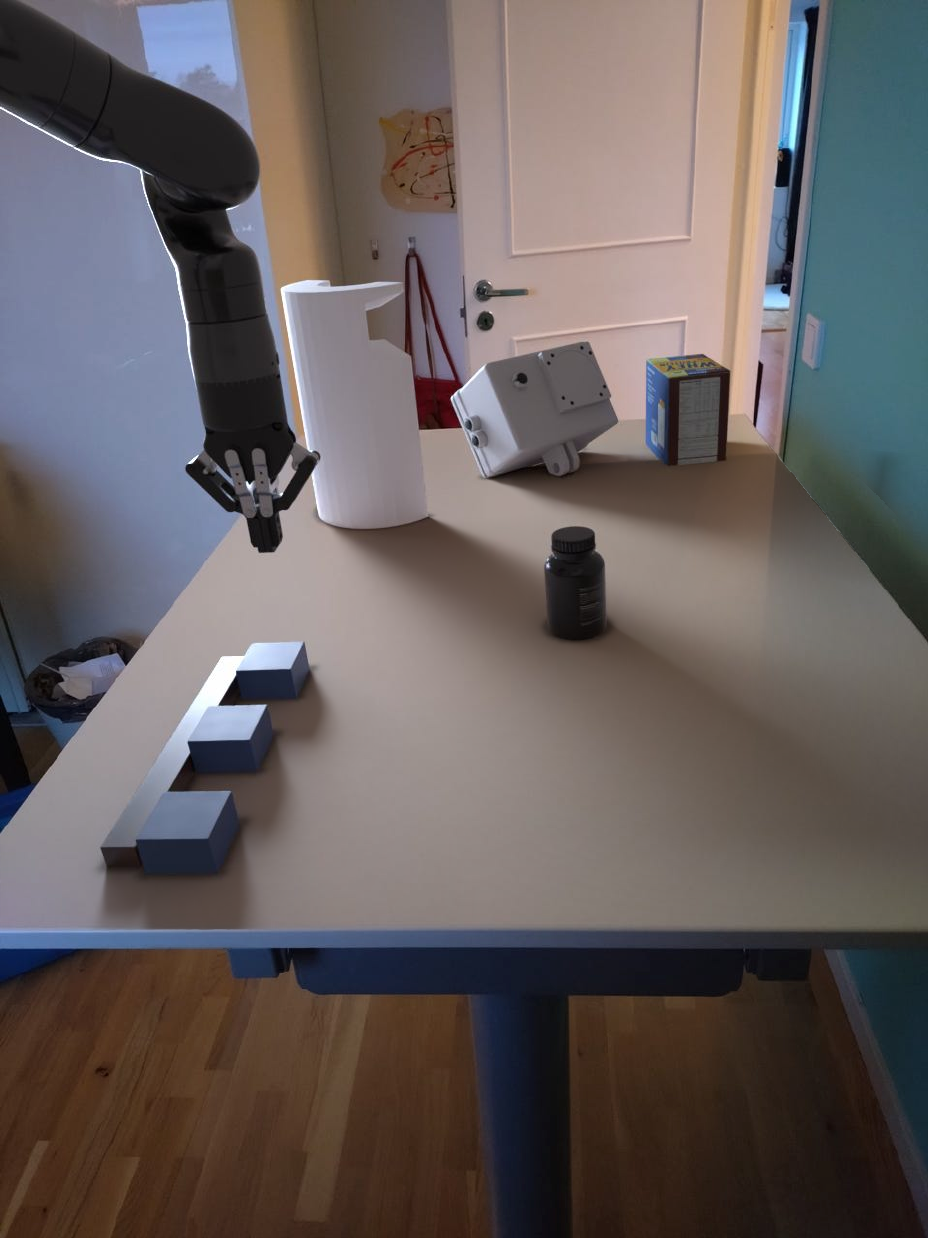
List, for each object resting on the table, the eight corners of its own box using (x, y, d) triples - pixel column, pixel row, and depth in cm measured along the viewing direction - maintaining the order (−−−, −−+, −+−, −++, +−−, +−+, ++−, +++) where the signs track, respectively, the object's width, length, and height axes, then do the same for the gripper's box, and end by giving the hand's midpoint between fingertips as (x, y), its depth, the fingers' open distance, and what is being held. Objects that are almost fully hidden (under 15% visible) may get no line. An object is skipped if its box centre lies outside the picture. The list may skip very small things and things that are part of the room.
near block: (147, 878, 72) (134, 839, 71) (174, 828, 78) (163, 791, 76) (218, 877, 72) (208, 839, 70) (241, 827, 77) (231, 790, 75)
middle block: (196, 776, 84) (186, 741, 82) (216, 739, 89) (208, 706, 88) (258, 775, 84) (249, 740, 82) (275, 738, 89) (267, 704, 87)
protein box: (700, 438, 166) (703, 352, 159) (726, 462, 152) (732, 370, 145) (644, 443, 166) (645, 358, 159) (665, 468, 152) (667, 376, 145)
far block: (242, 703, 95) (235, 670, 94) (258, 674, 101) (251, 643, 99) (297, 701, 95) (290, 669, 93) (310, 672, 100) (304, 641, 98)
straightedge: (107, 871, 73) (99, 847, 72) (226, 676, 101) (221, 656, 100) (142, 871, 73) (135, 847, 72) (251, 675, 101) (247, 655, 99)
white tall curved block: (344, 495, 154) (432, 517, 141) (292, 516, 146) (379, 541, 133) (311, 279, 138) (407, 281, 125) (251, 290, 131) (346, 294, 117)
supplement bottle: (605, 615, 106) (603, 520, 101) (608, 643, 100) (607, 544, 95) (547, 617, 107) (542, 523, 102) (546, 645, 101) (542, 546, 96)
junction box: (527, 478, 140) (474, 349, 141) (484, 508, 154) (436, 390, 154) (638, 443, 152) (589, 324, 152) (590, 474, 165) (544, 364, 166)
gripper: (148, 383, 77) (190, 567, 85) (298, 374, 76) (327, 562, 84) (179, 365, 84) (216, 538, 92) (318, 357, 83) (342, 533, 90)
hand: (269, 549), depth 88 cm, fingers closed
